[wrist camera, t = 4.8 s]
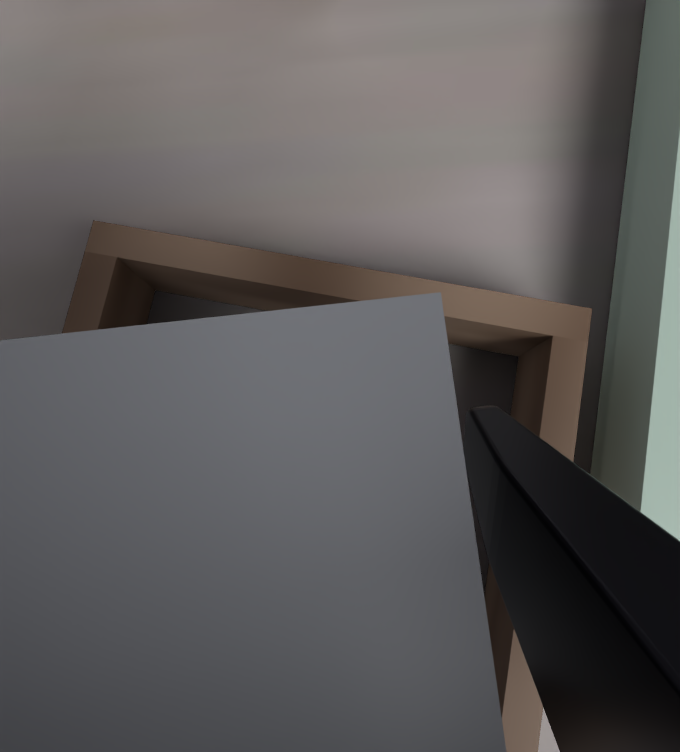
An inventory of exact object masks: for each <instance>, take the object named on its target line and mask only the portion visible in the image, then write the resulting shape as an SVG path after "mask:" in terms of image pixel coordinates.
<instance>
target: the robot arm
mask: <svg viewBox="0 0 680 752" xmlns="http://www.w3.org/2000/svg"><path fill="white" fill-rule="evenodd" d="M464 458H465V465H466V470H467V474H468V479H469V483H470V487H471V491H472V495H473V499H474V503H475V507H476V511H477V515H478V519H479V524H480V528H481V532H482V536H483V540H484V544H485V548H486V551H487V555H488V559H489V562H490V565H491V568H492V571H493V574H494V576H495V579H496V582H497V584H498V587H499V590H500V592H501V595H502V598H503V600H504V603H505V606H506V608H507V611H508V614H509V616H510V619H511V622H512V624H513V627H514V630H515V632H516V635H517V638H518V641H519V643H520V646H521V649H522V651H523V654H524V657H525V659H526V662H527V665H528V667H529V670H530V673H531V675H532V678H533V681H534V683H535V686H536V689H537V691H538V694H539V697H540V699H541V702H542V705H543V707H544V710H545V713H546V715H547V718H548V721H549V723H550V726H551V729H552V731H553V734H554V737H555V739H556V742H557V745H558V748H559V750H560V752H680V541H679V540H678V539H677V538H675V537H674V536H673V535H671V534H670V533H669V532H667V531H666V530H664V529H663V528H662V527H660V526H659V525H658V524H656V523H655V522H654V521H652V520H651V519H650V518H648V517H647V516H646V515H644V514H643V513H641V512H640V511H639V510H637V509H636V508H635V507H633V506H632V505H631V504H629V503H628V502H627V501H625V500H624V499H623V498H621V497H620V496H618V495H617V494H616V493H614V492H613V491H612V490H610V489H609V488H608V487H606V486H605V485H604V484H602V483H601V482H600V481H598V480H597V479H595V478H594V477H593V476H591V475H590V474H589V473H587V472H586V471H585V470H583V469H582V468H581V467H579V466H578V465H577V464H575V463H574V462H572V461H571V460H570V459H568V458H567V457H566V456H564V455H563V454H562V453H560V452H559V451H558V450H556V449H555V448H553V447H552V446H551V445H549V444H548V443H547V442H545V441H544V440H543V439H541V438H540V437H539V436H537V435H536V434H535V433H533V432H532V431H530V430H529V429H528V428H526V427H525V426H524V425H522V424H521V423H520V422H518V421H517V420H516V419H514V418H513V417H512V416H510V415H509V414H507V413H506V412H505V411H503V410H502V409H501V408H499V407H497V406H493V405H491V406H481V407H472V408H470V409H469V410H468V411H467V413H466V419H465V434H464Z"/></svg>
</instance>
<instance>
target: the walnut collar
mask: <svg viewBox="0 0 680 752" xmlns="http://www.w3.org/2000/svg"><path fill="white" fill-rule="evenodd" d="M155 290H156V291H162V292H167V293H173V294H178V295H184V296H189V297H195V298H200V299H206V300H211V301H217V302H222V303H228V304H233V305H239V306H244V307H250V308H255V309H261V310H266V311H274V310H283V309H292V308H301V307H310V306H319V305H329V304H338V303H347V302H356V301H365V300H374V299H384V298H393V297H402V296H411V295H420V294H429V293H439V292H441V297H442V304H443V311H444V318H445V325H446V332H447V339H448V344H453V345H458V346H464V347H469V348H475V349H480V350H486V351H491V352H496V353H502V354H507V355H513V356H518V357H519V358H518V365H517V372H516V379H515V386H514V393H513V400H512V407H511V414H510V416H512V417H513V418H514V419H516V420H517V421H518V422H520V423H521V424H522V425H524V426H525V427H526V428H528V429H529V430H530V431H532V432H533V433H535V434H536V435H537V436H539V437H540V438H541V439H543V440H544V441H545V442H547V443H548V444H549V445H551V446H552V447H553V448H555V449H556V450H558V451H559V452H560V453H562V454H563V455H564V456H566V457H567V458H568V459H570V460H571V461H572V462H573V460H574V452H575V444H576V436H577V428H578V420H579V412H580V404H581V395H582V387H583V379H584V371H585V363H586V355H587V347H588V339H589V331H590V322H591V314H592V308H586V307H580V306H575V305H569V304H563V303H558V302H552V301H546V300H541V299H535V298H529V297H524V296H518V295H512V294H507V293H501V292H495V291H490V290H484V289H478V288H473V287H467V286H462V285H456V284H450V283H445V282H439V281H433V280H428V279H422V278H416V277H411V276H405V275H399V274H394V273H388V272H382V271H377V270H371V269H365V268H360V267H354V266H348V265H343V264H337V263H331V262H326V261H320V260H314V259H309V258H303V257H298V256H292V255H286V254H281V253H275V252H269V251H264V250H258V249H252V248H247V247H241V246H235V245H230V244H224V243H218V242H213V241H207V240H201V239H196V238H190V237H184V236H179V235H173V234H167V233H162V232H156V231H151V230H145V229H139V228H134V227H128V226H122V225H117V224H111V223H105V222H100V221H94V220H93V224H92V227H91V231H90V234H89V238H88V242H87V245H86V249H85V252H84V256H83V260H82V263H81V267H80V270H79V274H78V277H77V281H76V285H75V288H74V292H73V295H72V299H71V303H70V306H69V310H68V313H67V317H66V320H65V324H64V328H63V331H62V334H63V333H72V332H81V331H90V330H99V329H109V328H118V327H127V326H136V325H145V324H147V320H148V316H149V312H150V308H151V304H152V300H153V296H154V292H155ZM484 598H485V605H486V612H487V619H488V626H489V633H490V640H491V647H492V654H493V661H494V668H495V675H496V682H497V689H498V696H499V703H500V710H501V717H502V724H503V731H504V738H505V745H506V752H538V744H539V736H540V728H541V720H542V712H543V705H542V702H541V699H540V697H539V694H538V691H537V689H536V686H535V683H534V681H533V678H532V675H531V673H530V670H529V667H528V665H527V662H526V659H525V657H524V654H523V651H522V649H521V646H520V643H519V641H518V638H517V635H516V632H515V630H514V627H513V624H512V622H511V619H510V616H509V614H508V611H507V608H506V606H505V603H504V600H503V598H502V595H501V592H500V590H499V587H498V584H497V582H496V579H495V576H494V574H493V571H492V568H491V565H490V562H489V567H488V574H487V581H486V588H485V595H484Z"/></svg>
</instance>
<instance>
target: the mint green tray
mask: <svg viewBox="0 0 680 752" xmlns="http://www.w3.org/2000/svg"><path fill="white" fill-rule="evenodd" d="M590 475H591V476H593V477H594V478H595V479H597V480H598V481H600V482H601V483H602V484H604V485H605V486H606V487H608V488H609V489H610V490H612V491H613V492H614V493H616V494H617V495H618V496H620V497H621V498H623V499H624V500H625V501H627V502H628V503H629V504H631V505H632V506H633V507H635V508H636V509H637V510H639V511H640V512H641V513H643V514H644V515H646V516H647V517H648V518H650V519H651V520H652V521H654V522H655V523H656V524H658V525H659V526H660V527H662V528H663V529H664V530H666V531H667V532H669V533H670V534H671V535H673V536H674V537H675V538H677V539H678V540H679V541H680V0H646V6H645V15H644V23H643V32H642V40H641V49H640V57H639V66H638V74H637V83H636V91H635V100H634V108H633V117H632V125H631V133H630V142H629V150H628V159H627V167H626V176H625V184H624V193H623V201H622V210H621V218H620V227H619V235H618V244H617V252H616V261H615V269H614V278H613V286H612V295H611V303H610V311H609V320H608V328H607V337H606V345H605V354H604V362H603V371H602V379H601V388H600V396H599V405H598V413H597V422H596V430H595V439H594V447H593V456H592V464H591V472H590Z"/></svg>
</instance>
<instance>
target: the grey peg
mask: <svg viewBox="0 0 680 752" xmlns="http://www.w3.org/2000/svg"><path fill="white" fill-rule="evenodd" d="M0 752H506V745H505V738H504V731H503V724H502V717H501V710H500V703H499V696H498V689H497V682H496V675H495V668H494V661H493V654H492V647H491V640H490V633H489V626H488V619H487V612H486V605H485V598H484V591H483V584H482V577H481V570H480V563H479V556H478V549H477V542H476V535H475V528H474V521H473V514H472V507H471V500H470V493H469V486H468V479H467V472H466V465H465V458H464V451H463V444H462V437H461V430H460V423H459V416H458V409H457V402H456V395H455V388H454V381H453V374H452V367H451V360H450V353H449V346H448V339H447V332H446V325H445V318H444V311H443V304H442V297H441V292H439V293H429V294H420V295H411V296H402V297H393V298H384V299H374V300H365V301H356V302H347V303H338V304H329V305H319V306H310V307H301V308H292V309H283V310H274V311H264V312H255V313H246V314H237V315H228V316H219V317H209V318H200V319H191V320H182V321H173V322H164V323H154V324H145V325H136V326H127V327H118V328H109V329H99V330H90V331H81V332H72V333H63V334H54V335H44V336H35V337H26V338H17V339H8V340H0Z"/></svg>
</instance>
